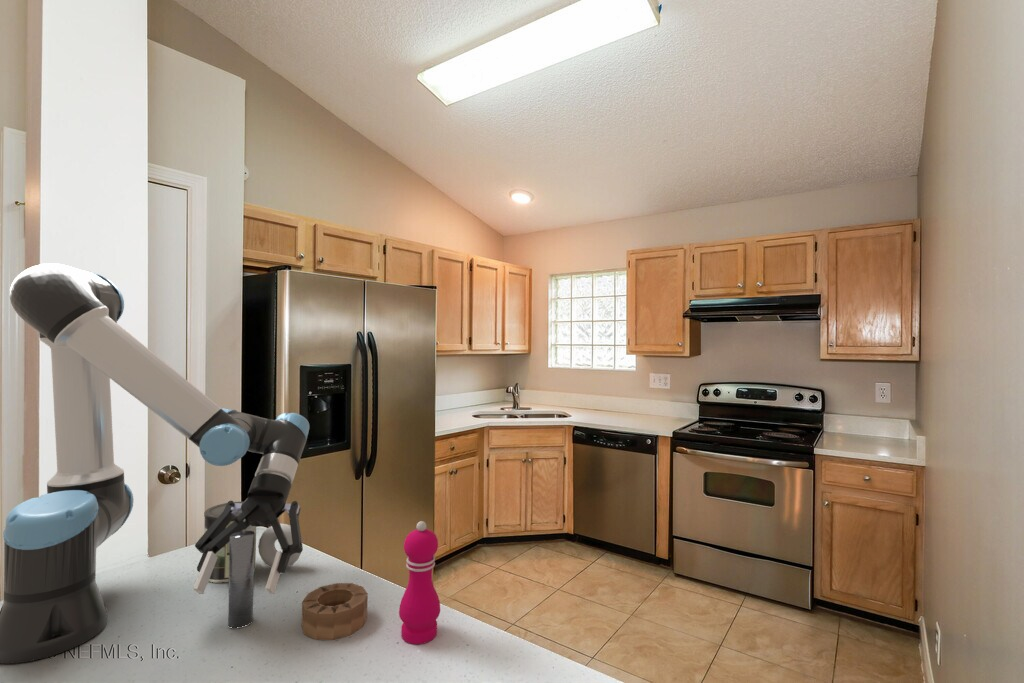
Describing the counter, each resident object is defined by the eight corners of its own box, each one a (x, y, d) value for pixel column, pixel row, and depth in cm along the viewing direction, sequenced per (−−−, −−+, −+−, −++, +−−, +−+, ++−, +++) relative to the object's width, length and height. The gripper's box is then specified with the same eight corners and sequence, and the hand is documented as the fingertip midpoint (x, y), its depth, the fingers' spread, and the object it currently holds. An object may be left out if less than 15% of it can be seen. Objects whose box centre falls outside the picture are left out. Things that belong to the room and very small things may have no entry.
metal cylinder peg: (223, 628, 89) (225, 539, 89) (234, 616, 93) (236, 530, 93) (246, 628, 89) (248, 539, 89) (256, 616, 93) (258, 530, 93)
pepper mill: (399, 649, 84) (401, 530, 84) (397, 625, 91) (399, 516, 91) (442, 643, 86) (444, 527, 86) (437, 620, 93) (439, 513, 93)
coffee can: (196, 586, 104) (197, 518, 104) (210, 564, 114) (211, 503, 114) (251, 580, 107) (252, 514, 107) (260, 559, 117) (261, 499, 117)
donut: (304, 566, 114) (305, 522, 114) (297, 573, 111) (297, 528, 111) (263, 563, 115) (264, 520, 115) (254, 570, 112) (255, 525, 112)
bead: (292, 639, 86) (293, 613, 86) (315, 606, 97) (315, 583, 97) (357, 639, 87) (357, 613, 87) (372, 606, 98) (372, 583, 98)
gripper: (335, 490, 107) (307, 598, 92) (220, 489, 106) (173, 598, 91) (327, 471, 102) (297, 583, 87) (207, 471, 101) (154, 583, 85)
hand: (233, 591), depth 89 cm, fingers open, 12 cm apart
